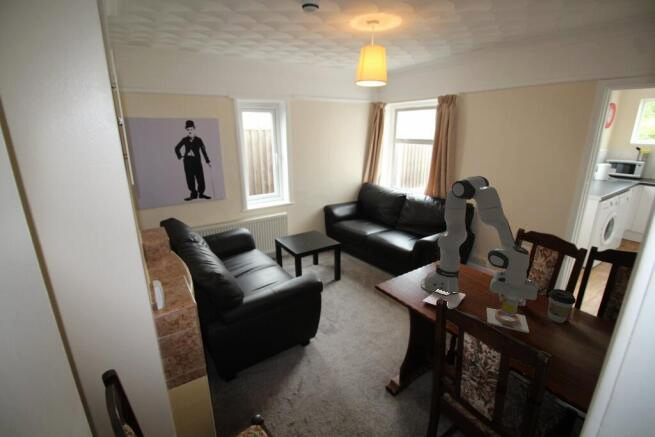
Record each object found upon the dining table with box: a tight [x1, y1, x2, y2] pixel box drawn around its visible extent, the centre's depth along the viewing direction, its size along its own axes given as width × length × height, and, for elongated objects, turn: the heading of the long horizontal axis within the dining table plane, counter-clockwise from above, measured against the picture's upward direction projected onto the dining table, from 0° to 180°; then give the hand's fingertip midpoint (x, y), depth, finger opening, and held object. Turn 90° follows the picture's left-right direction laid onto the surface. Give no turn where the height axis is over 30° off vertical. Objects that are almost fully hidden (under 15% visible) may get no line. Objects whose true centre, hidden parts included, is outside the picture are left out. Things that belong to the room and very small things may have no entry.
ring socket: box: [486, 307, 530, 334], centre depth 155 cm, size 18×14×3 cm
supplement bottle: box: [501, 291, 519, 315], centre depth 152 cm, size 7×7×13 cm
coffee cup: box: [547, 288, 577, 324], centre depth 155 cm, size 11×11×15 cm
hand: (510, 302), depth 153 cm, fingers closed on supplement bottle, 7 cm apart
